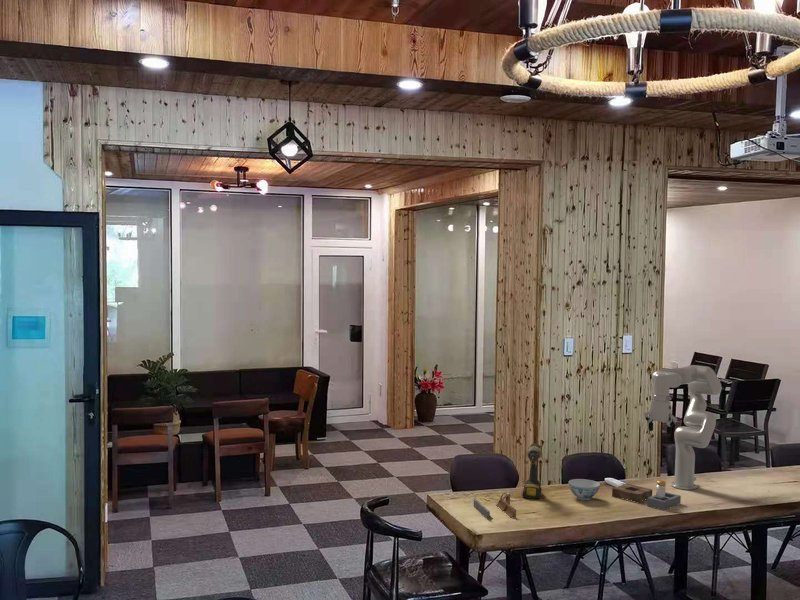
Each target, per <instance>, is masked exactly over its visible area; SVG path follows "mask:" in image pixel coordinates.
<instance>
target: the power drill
mask: <svg viewBox="0 0 800 600" xmlns="http://www.w3.org/2000/svg"><path fill="white" fill-rule="evenodd" d="M526 454H527V455H526V456H527V457H528V459H529V461H530V465H529V467H530V468H529V478H528V479H527V480H526V481H525V483H524V486H523V489H522V494H521V495H522V497H523V498H525V499H532V500H539V499H541V495H542V491H543V490H542V487H541V486H542V485H541V484H542V483H541V481H540V480H538V462H539V459H540V458H541V456H542V447H541V445H540V444H538V443H532V444H530V446H528V449H527V452H526Z"/></svg>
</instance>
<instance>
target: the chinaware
mask: <svg viewBox="0 0 800 600" xmlns="http://www.w3.org/2000/svg"><path fill="white" fill-rule="evenodd" d="M568 486H569V489H570V491H571V493H572V494H573V495H574V496H575V497H576V499H577V500H579V499H580V501H584V500H587V501H590V500H591V499H592V498H594V496H596V495H597V493H598V492H599V489H600V487H601V484H600V483H599V482H598V481H595V480H591V479H584V478H574V479H569V481H568Z"/></svg>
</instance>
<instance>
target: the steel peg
mask: <svg viewBox="0 0 800 600" xmlns="http://www.w3.org/2000/svg"><path fill="white" fill-rule="evenodd" d="M666 483H667V482H666V481H665V480H656V493H655V495H656V499H659V500H665V492H666V487H667V486H666Z"/></svg>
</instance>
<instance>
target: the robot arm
mask: <svg viewBox="0 0 800 600" xmlns="http://www.w3.org/2000/svg"><path fill="white" fill-rule="evenodd" d="M651 380H652V383H653V395H652V397H653V398H652V399H651V402H650V407H649V411H647V412H644V413H643V416H644V417H645V420H646V421H647V425H648V427H647V428H648V432H653V431H654V422H656V421H657V422H662V423H665V424H666V425H667V426H666V435H668V436H669V435H671V434H672V433H673V427H674V425H675V424H676V423H677V421H678V418H677V417H676V416H675V415H673V409H672V408H673V407H672V403H671V400H672V397H670V388H672V389H674V388H679V387H680V386H681V385H687V389H688V394H689V399H690V401H689V404H688V406H687V409H686V411H685V415H684V418H683V423H684V425H685V426H684V425H683V426H678V427H677V428H675V430H674V443H675V459H674V462H675V464H674V481H672V482H671V483H670V484H671V486H672V487H673V488H675V489H679V490H686V491H687V490H689V491H690V490H691V491H692V490H696V489H697V488H698V486H697V484H695V482H696V481H697V477H695V468H696V467H695V466H696V465H695V464H696V463H695V462H696V455H695V454H696V453H695V451H694V448H698V449H705V448H707V447H708V446H709V444H710V441H711V439H712V436H713V433H714V431H715V428H716V425H717V424H716V423H717V418H716V415H715V414H714V413H713V412H711V411H706V409H707V407H708V404H707V400H706V399H705V397H704V396H703V395H709V396H718V395H720V394H721V392H722V382H721V381H720V378H719V377H718V375H717V373H716V372H715V371H714V369H713V368H711V367H710V366H707V365H706V366H705V365H698V364H697V365H695V364H691V365H686V366H683V367H672V368H662V369H658V370H656V371H654V372H653V373H652V376H651ZM693 447H694V448H693Z"/></svg>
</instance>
